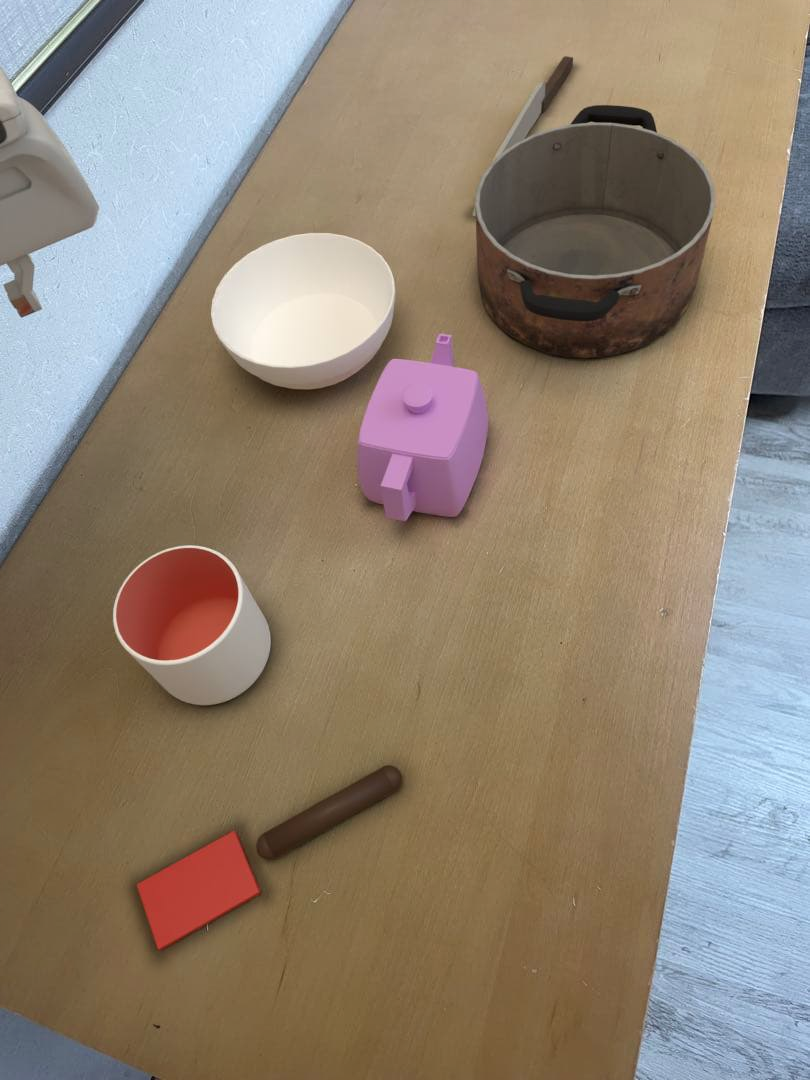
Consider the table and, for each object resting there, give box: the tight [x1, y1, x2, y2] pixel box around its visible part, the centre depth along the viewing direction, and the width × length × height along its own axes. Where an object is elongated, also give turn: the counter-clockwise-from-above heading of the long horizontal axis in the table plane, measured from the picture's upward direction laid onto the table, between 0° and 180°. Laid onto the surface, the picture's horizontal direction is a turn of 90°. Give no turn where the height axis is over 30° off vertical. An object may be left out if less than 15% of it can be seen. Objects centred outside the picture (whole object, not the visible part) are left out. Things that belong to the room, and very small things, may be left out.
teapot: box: [357, 333, 489, 522], centre depth 75 cm, size 18×10×10 cm, turn 163°
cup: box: [112, 544, 272, 706], centre depth 68 cm, size 10×10×10 cm
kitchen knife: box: [471, 55, 574, 218], centre depth 101 cm, size 4×1×30 cm
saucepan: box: [474, 104, 717, 359], centre depth 85 cm, size 30×22×11 cm
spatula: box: [136, 764, 403, 951], centre depth 63 cm, size 21×5×2 cm, turn 118°
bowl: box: [210, 232, 396, 391], centre depth 86 cm, size 18×18×7 cm
